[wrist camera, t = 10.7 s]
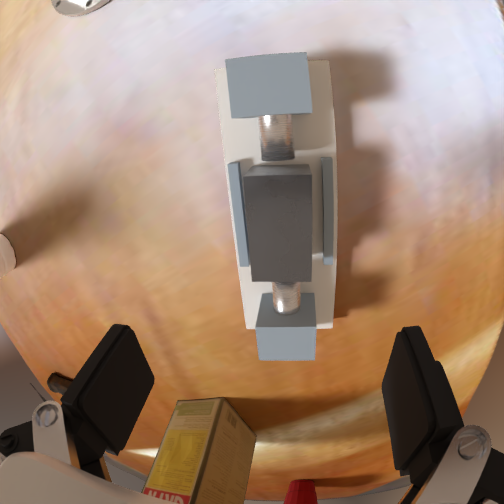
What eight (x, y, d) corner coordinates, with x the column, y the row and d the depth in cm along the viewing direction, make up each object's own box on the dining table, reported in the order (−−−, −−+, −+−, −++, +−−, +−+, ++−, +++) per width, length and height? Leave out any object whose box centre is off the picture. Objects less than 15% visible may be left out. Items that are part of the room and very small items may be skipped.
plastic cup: (277, 487, 56) (272, 525, 46) (283, 475, 52) (277, 518, 41) (318, 488, 55) (316, 526, 45) (329, 476, 50) (327, 519, 40)
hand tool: (61, 382, 49) (51, 396, 44) (53, 369, 47) (42, 384, 43) (130, 405, 46) (121, 423, 42) (123, 392, 44) (113, 411, 40)
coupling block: (252, 165, 23) (243, 176, 19) (308, 164, 22) (311, 174, 18) (258, 255, 26) (251, 281, 22) (309, 255, 26) (311, 281, 22)
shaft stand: (218, 72, 21) (193, 58, 15) (326, 63, 20) (337, 45, 14) (248, 320, 32) (238, 362, 26) (331, 319, 30) (336, 363, 24)
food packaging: (173, 399, 41) (121, 533, 19) (224, 395, 39) (181, 553, 16) (213, 439, 46) (181, 553, 24) (259, 437, 43) (236, 563, 21)
